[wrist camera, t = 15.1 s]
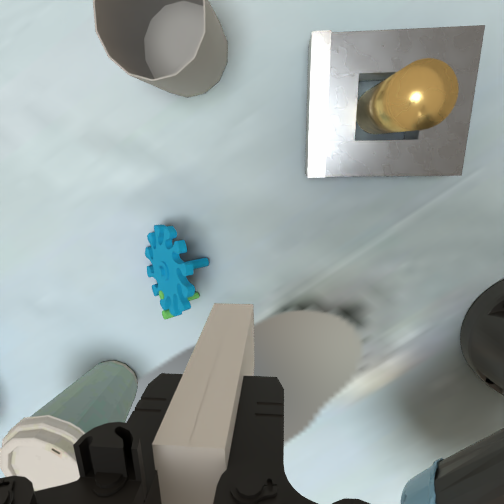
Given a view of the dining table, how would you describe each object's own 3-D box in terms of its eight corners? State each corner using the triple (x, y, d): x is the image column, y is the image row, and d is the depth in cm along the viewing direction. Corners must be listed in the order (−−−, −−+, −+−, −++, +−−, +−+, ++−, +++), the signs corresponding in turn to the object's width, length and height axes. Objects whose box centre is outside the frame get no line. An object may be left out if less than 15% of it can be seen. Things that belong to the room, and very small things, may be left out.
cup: (237, 15, 33) (217, -35, 24) (218, 105, 36) (194, 92, 26) (152, -8, 33) (99, -67, 24) (139, 84, 36) (87, 63, 26)
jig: (461, 39, 32) (489, 22, 28) (442, 172, 36) (464, 175, 31) (308, 45, 34) (311, 31, 29) (305, 173, 37) (307, 177, 33)
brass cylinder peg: (403, 85, 34) (463, 56, 22) (398, 133, 35) (453, 129, 24) (356, 87, 34) (392, 59, 23) (353, 134, 36) (386, 130, 24)
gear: (141, 211, 38) (185, 250, 32) (188, 206, 42) (237, 241, 35) (139, 294, 43) (177, 344, 37) (182, 284, 47) (224, 327, 40)
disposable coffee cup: (131, 423, 49) (69, 536, 35) (64, 385, 48) (-29, 486, 34) (165, 371, 46) (112, 473, 32) (94, 329, 45) (6, 415, 31)
